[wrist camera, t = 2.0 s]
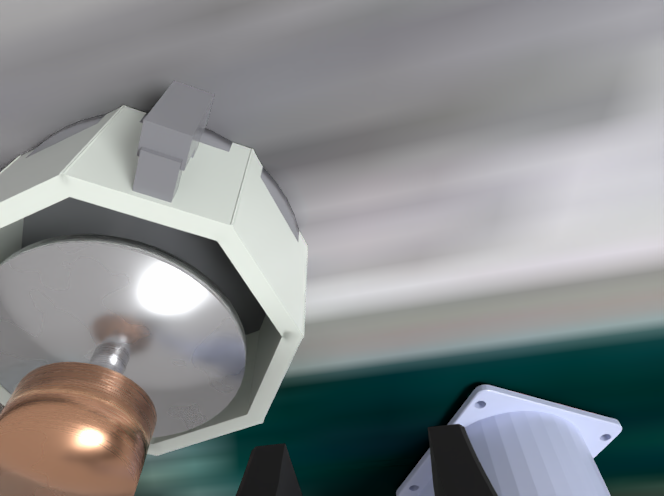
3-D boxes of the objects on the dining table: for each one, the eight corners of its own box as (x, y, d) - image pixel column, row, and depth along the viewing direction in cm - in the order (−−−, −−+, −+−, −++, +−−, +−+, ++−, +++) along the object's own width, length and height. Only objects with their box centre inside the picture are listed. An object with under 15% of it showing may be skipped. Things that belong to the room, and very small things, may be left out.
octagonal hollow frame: (255, 376, 24) (242, 476, 20) (3, 313, 22) (-70, 411, 18) (362, 131, 18) (374, 204, 14) (21, 7, 16) (-87, 50, 12)
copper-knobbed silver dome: (212, 445, 19) (185, 582, 15) (-23, 394, 17) (-118, 534, 14) (280, 282, 15) (266, 413, 11) (-17, 196, 13) (-150, 316, 10)
